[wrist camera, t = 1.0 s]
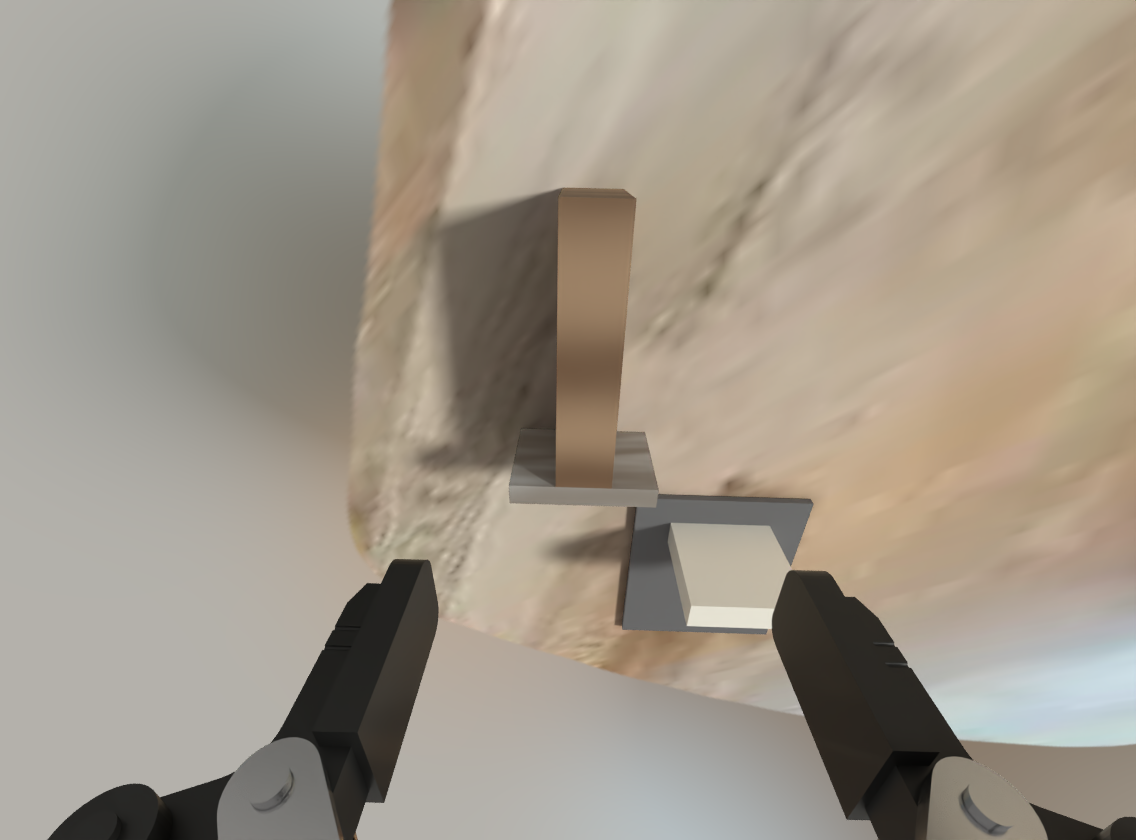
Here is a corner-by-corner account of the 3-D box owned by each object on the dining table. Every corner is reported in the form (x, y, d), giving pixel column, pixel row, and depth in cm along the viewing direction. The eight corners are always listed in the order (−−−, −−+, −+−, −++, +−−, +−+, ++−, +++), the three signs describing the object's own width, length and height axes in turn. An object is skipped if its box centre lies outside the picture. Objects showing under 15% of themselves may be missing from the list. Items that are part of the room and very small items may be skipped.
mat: (637, 493, 32) (638, 498, 32) (810, 499, 32) (813, 503, 32) (621, 624, 39) (622, 629, 39) (763, 629, 39) (766, 634, 39)
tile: (670, 522, 33) (691, 606, 27) (769, 525, 33) (812, 609, 27) (667, 542, 34) (686, 627, 28) (763, 545, 34) (803, 631, 28)
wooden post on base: (512, 186, 23) (493, 195, 18) (673, 190, 23) (701, 200, 18) (521, 443, 31) (509, 503, 25) (643, 447, 31) (656, 507, 25)
